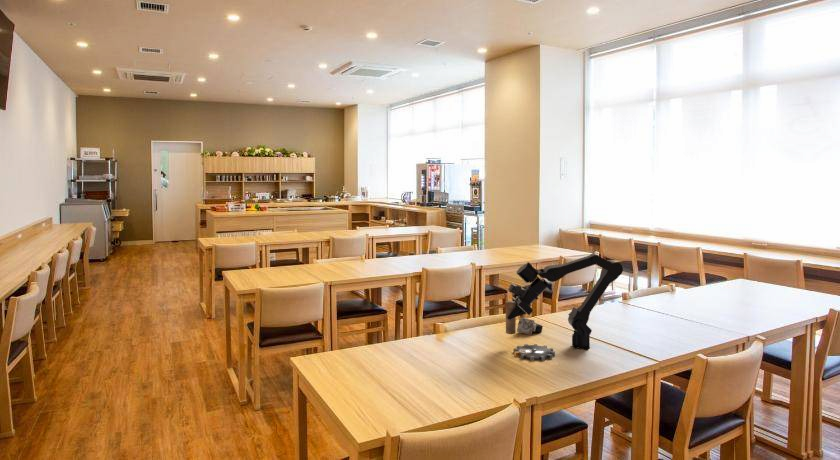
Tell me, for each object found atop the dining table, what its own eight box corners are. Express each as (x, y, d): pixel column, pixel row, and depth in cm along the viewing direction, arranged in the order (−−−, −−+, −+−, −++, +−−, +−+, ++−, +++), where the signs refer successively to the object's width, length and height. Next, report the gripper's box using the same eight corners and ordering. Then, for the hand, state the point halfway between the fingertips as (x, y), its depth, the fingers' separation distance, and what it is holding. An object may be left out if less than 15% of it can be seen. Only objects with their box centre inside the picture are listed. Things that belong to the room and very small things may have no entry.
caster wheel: (539, 334, 245) (541, 337, 235) (515, 328, 247) (516, 331, 237) (542, 320, 245) (545, 323, 235) (518, 314, 247) (519, 317, 237)
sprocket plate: (555, 349, 217) (556, 344, 216) (553, 362, 201) (553, 357, 201) (516, 346, 221) (516, 341, 221) (511, 359, 206) (511, 354, 206)
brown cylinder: (516, 331, 221) (516, 301, 219) (514, 334, 217) (514, 303, 216) (506, 331, 222) (506, 300, 220) (505, 333, 218) (505, 302, 217)
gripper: (516, 272, 226) (490, 298, 228) (524, 281, 208) (496, 309, 209) (535, 290, 227) (509, 316, 228) (544, 301, 208) (516, 328, 210)
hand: (507, 317), depth 219 cm, fingers closed on brown cylinder, 4 cm apart
